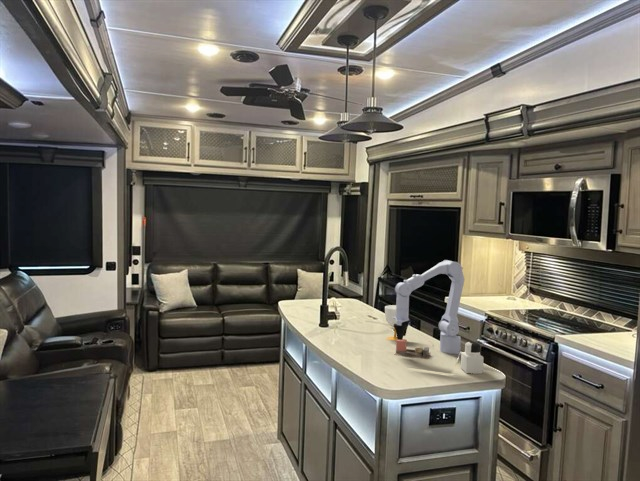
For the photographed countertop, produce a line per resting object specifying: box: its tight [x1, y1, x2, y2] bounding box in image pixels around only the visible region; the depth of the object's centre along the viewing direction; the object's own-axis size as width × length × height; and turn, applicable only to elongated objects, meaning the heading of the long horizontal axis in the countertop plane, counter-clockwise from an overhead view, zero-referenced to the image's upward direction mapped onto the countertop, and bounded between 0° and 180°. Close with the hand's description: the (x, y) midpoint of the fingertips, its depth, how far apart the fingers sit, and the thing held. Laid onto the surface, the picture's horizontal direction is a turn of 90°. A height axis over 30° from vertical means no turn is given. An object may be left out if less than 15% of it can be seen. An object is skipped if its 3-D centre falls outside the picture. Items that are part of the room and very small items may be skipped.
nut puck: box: [414, 346, 424, 355], centre depth 216 cm, size 4×4×3 cm
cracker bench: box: [394, 347, 431, 360], centre depth 217 cm, size 15×11×4 cm
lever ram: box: [395, 338, 408, 353], centre depth 219 cm, size 4×4×6 cm
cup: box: [384, 304, 397, 342], centre depth 246 cm, size 12×12×17 cm
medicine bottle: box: [460, 341, 484, 375], centre depth 198 cm, size 7×7×12 cm
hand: (401, 337), depth 219 cm, fingers open, 7 cm apart
